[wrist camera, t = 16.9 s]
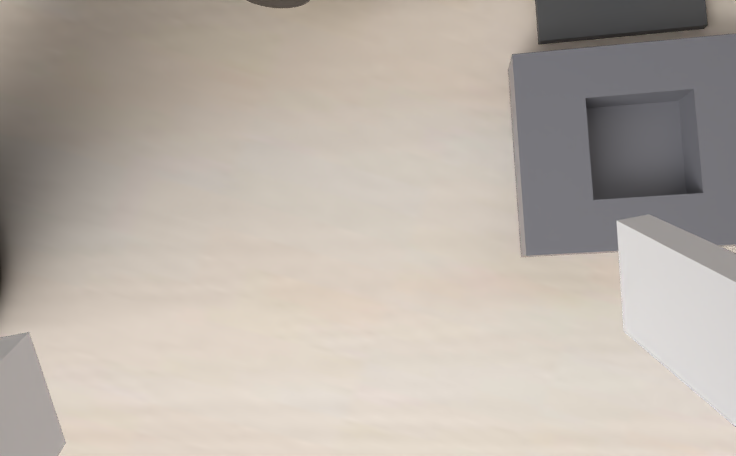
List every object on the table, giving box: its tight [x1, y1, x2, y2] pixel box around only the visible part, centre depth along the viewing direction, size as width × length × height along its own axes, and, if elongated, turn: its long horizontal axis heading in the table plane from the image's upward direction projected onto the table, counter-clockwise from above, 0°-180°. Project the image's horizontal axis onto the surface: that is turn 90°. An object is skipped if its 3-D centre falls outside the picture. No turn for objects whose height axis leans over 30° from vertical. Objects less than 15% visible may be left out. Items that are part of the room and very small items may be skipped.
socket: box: [508, 34, 736, 257], centre depth 39 cm, size 14×12×3 cm
